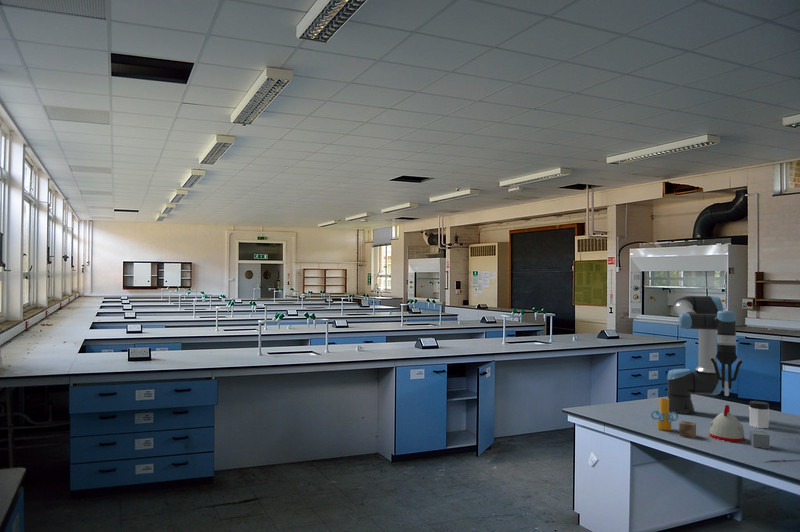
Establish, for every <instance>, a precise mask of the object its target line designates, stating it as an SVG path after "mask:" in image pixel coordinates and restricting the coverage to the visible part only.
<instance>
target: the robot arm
mask: <svg viewBox="0 0 800 532" xmlns="http://www.w3.org/2000/svg"><path fill="white" fill-rule="evenodd" d="M672 310H673V313H674V314H675V315H676V317H678V325H679V328H681V329H686V330H698V363H697V365H698V366H697V367H696V368H694V369H695V370H694V371H692V370H691V369H690V368H674V369H670V370H669V371H667V377H666V378H667V396H666V398H669V412H670V413H671V412H676V413H677V414H678V413H679V414H680V415H693V414H695V407H694V404H693V401H692V394H699V395H708V396H712V395H713V396H714V395H715V396H717V395H719V394H721V391H722V389H724V396H725V397H728V396H730V389H732V388H733V387H732V386H733V384H732V383H733V382H736V380H737V378H738V375H739V371H740V367H741V365H742V364H743V362H744V361H743V360H742V359H740V358H738V355H737V346H736V344H737V334H736V333H737V332H736V331H737V328H736V327H737V316H736V312H735V311H733V310H724V305H723V303H722V300H721V298H720V297H719V296H712V295H710V296H709V295H687V296H683V297H680V298H678V299H676V300H675V301H674V302H673V305H672ZM717 361H718V362H719V363H720V364H721V373H720V369H719V366H718V363H717ZM735 362H736V367H735V370H734V374H733V375H732V370H733V369H732V365H733V364H734V363H735ZM726 365H727V380H726ZM679 414H678V415H679Z"/></svg>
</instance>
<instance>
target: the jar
mask: <svg viewBox="0 0 800 532" xmlns="http://www.w3.org/2000/svg"><path fill="white" fill-rule="evenodd" d="M748 413H749V418H748V419H749V423H748V424H749V427H752V426H753V427H752V428H756V427H757V428H756V429H764V428H767V429H769V428H770V403H768V402H766V401H759V400H750V401H749V411H748Z"/></svg>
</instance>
